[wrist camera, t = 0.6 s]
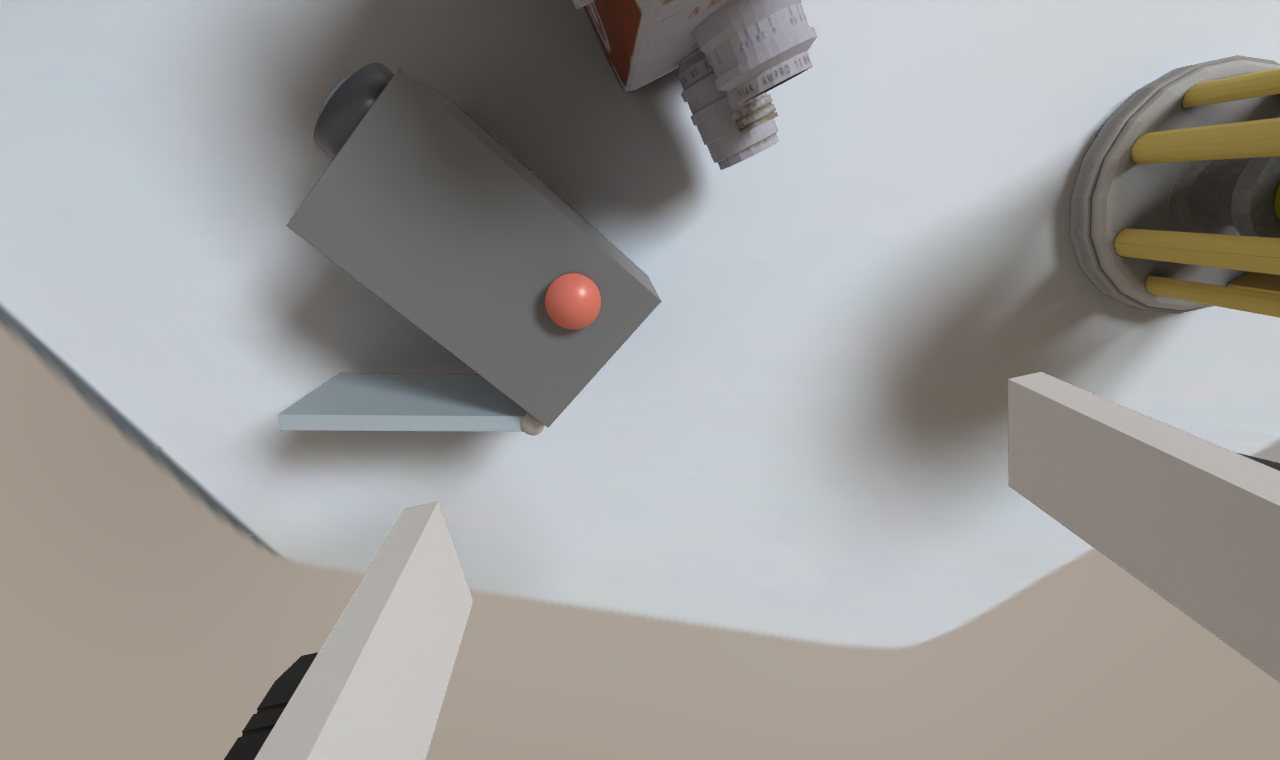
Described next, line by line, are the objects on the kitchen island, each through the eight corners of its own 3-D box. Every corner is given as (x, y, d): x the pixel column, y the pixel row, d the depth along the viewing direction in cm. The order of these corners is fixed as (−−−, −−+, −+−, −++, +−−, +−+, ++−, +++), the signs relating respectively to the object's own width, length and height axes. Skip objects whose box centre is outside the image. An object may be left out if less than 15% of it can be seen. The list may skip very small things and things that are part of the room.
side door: (343, 393, 36) (280, 440, 29) (340, 369, 35) (276, 412, 28) (555, 395, 36) (544, 442, 29) (555, 372, 36) (543, 414, 29)
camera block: (327, 188, 33) (217, 186, 24) (415, 67, 31) (335, 13, 22) (559, 375, 37) (544, 436, 28) (647, 275, 35) (663, 304, 26)
